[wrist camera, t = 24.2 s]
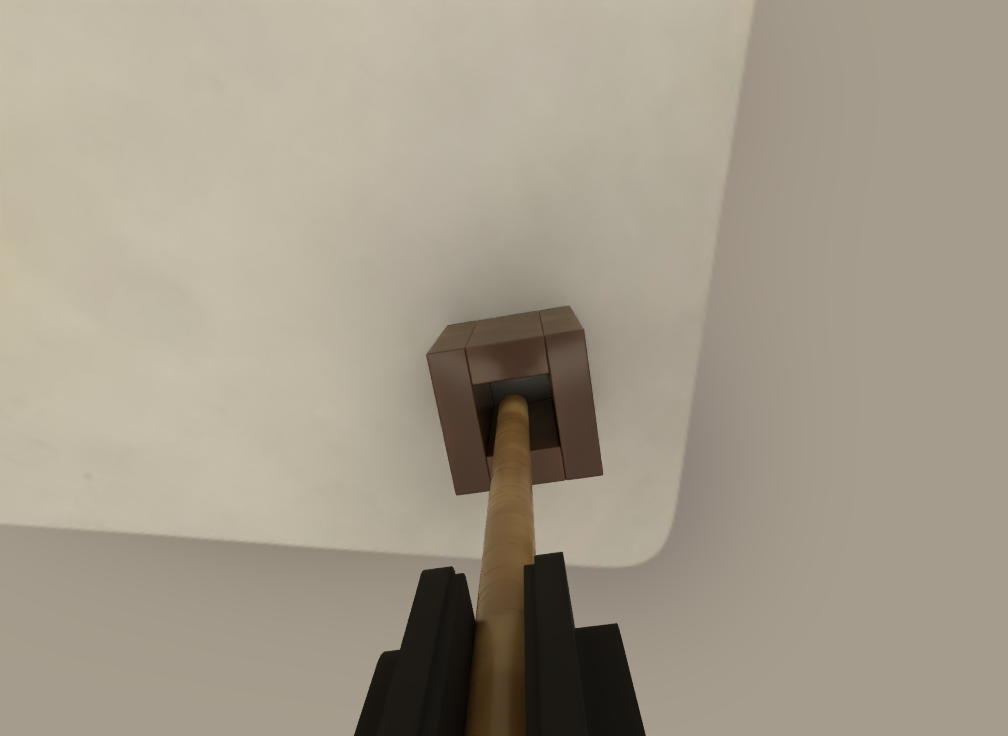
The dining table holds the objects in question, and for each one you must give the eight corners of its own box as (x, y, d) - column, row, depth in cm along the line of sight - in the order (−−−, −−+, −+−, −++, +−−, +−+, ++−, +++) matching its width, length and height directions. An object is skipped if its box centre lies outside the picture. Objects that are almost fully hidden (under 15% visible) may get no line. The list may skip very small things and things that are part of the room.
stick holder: (569, 305, 26) (584, 329, 20) (586, 421, 27) (603, 475, 21) (446, 325, 26) (425, 354, 20) (469, 439, 28) (455, 496, 22)
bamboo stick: (525, 391, 22) (554, 1057, 4) (529, 418, 22) (572, 1142, 5) (496, 395, 22) (411, 1062, 4) (501, 422, 22) (437, 1151, 5)
